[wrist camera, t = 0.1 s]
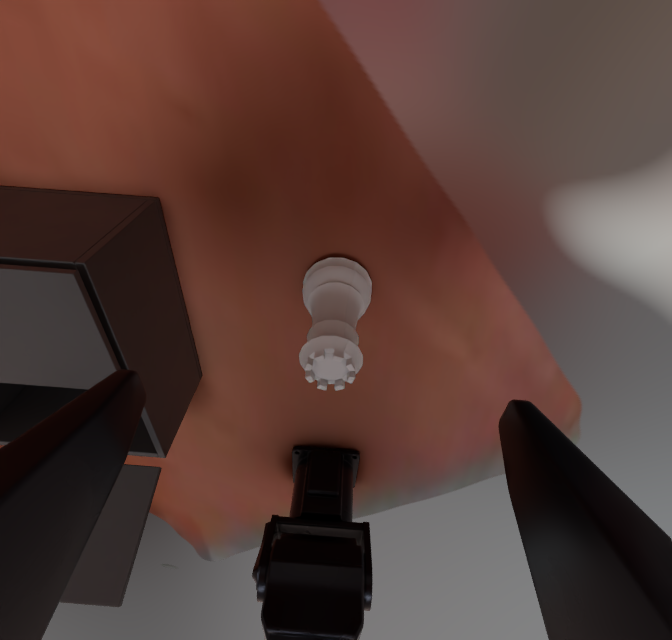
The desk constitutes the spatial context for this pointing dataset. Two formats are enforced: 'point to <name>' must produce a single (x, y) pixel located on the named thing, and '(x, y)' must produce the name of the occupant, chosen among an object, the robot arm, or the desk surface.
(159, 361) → the carton
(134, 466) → the flap
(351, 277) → the rook chess piece
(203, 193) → the desk surface
